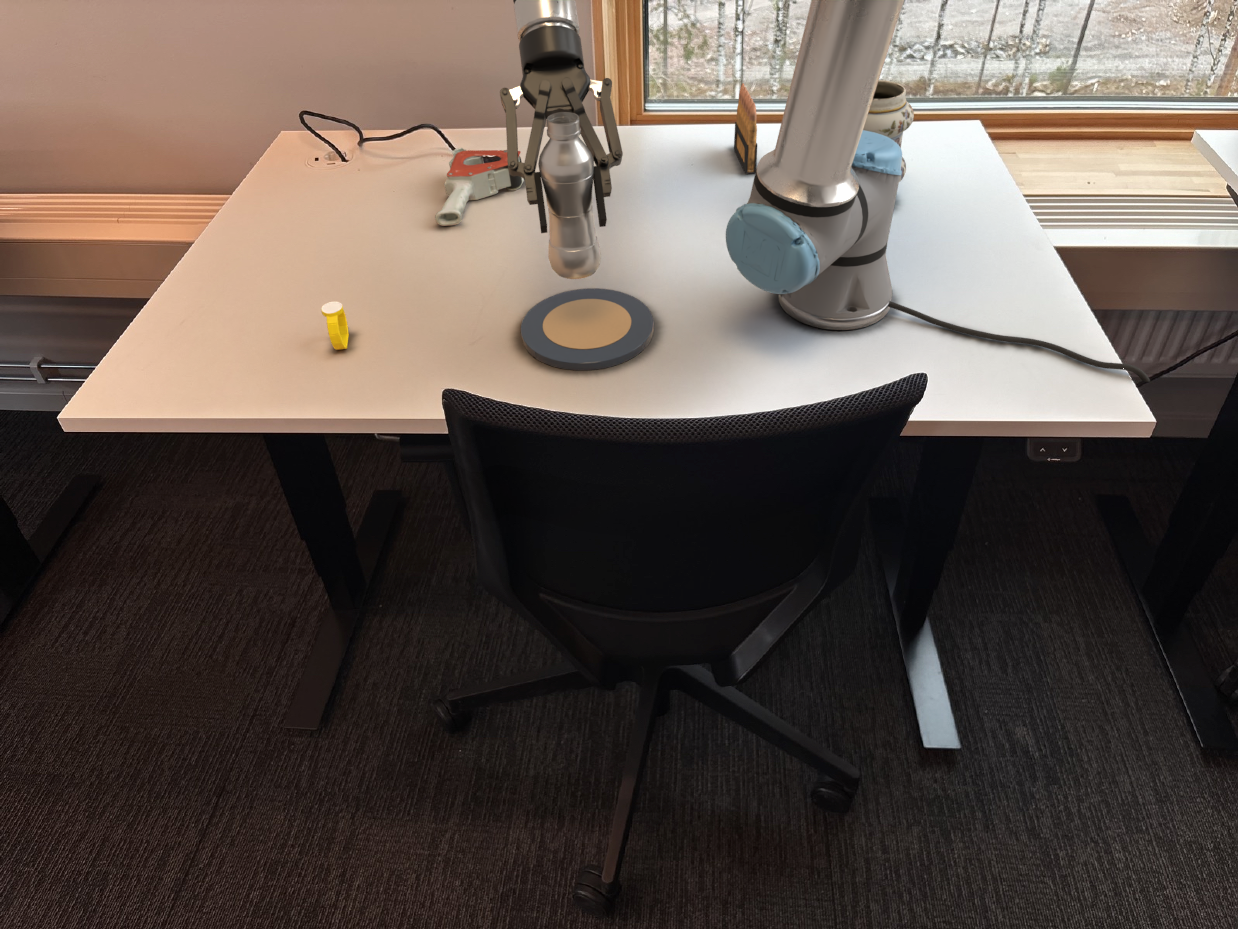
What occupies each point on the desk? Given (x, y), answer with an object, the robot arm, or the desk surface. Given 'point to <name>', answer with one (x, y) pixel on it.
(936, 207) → the desk surface
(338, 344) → the watch
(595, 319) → the plate
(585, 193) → the silver metal bottle
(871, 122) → the apothecary jar
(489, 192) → the tape dispenser
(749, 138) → the ammunition clip
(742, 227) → the robot arm
